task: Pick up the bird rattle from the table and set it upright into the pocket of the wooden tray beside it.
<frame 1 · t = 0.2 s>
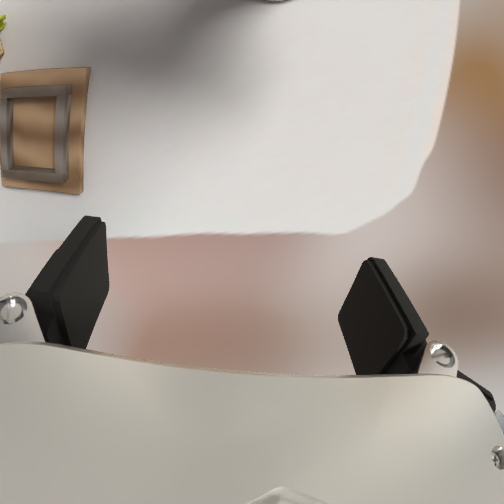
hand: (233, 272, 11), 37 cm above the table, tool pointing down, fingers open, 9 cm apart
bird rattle: (0, 40, 30), on the table
wooden tray: (40, 129, 40), on the table
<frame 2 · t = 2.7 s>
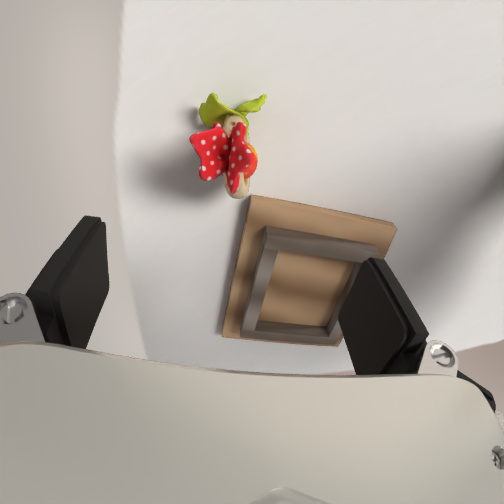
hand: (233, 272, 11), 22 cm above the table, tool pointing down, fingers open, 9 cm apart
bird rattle: (237, 134, 30), on the table
wooden tray: (302, 280, 39), on the table
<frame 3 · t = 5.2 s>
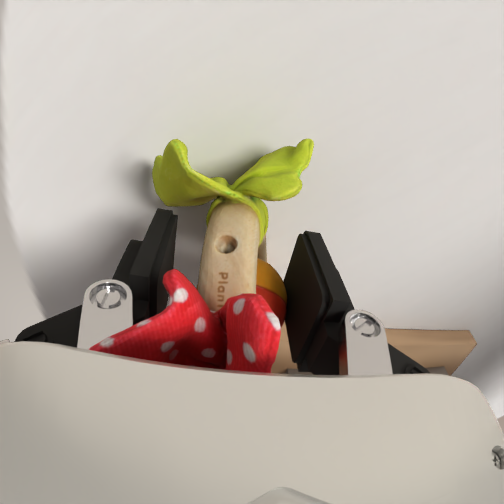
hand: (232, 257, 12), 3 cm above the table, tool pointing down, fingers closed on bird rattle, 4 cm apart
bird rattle: (240, 217, 15), on the table, touching gripper
wooden tray: (332, 407, 24), on the table
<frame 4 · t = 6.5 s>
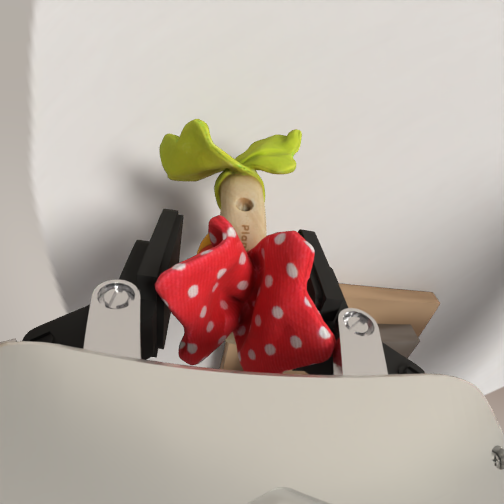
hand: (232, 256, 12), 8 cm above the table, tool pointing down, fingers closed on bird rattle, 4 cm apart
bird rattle: (227, 194, 17), point 2 cm above the table, touching gripper
wooden tray: (311, 366, 29), on the table
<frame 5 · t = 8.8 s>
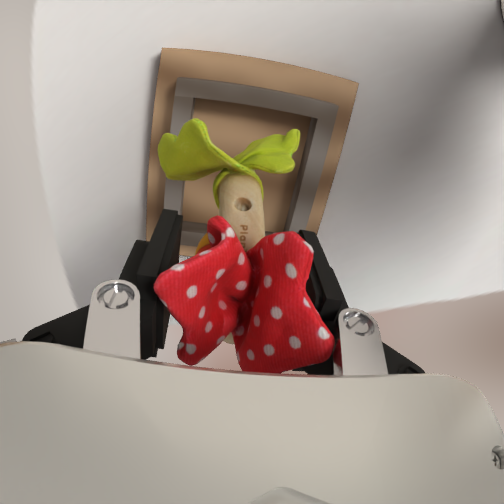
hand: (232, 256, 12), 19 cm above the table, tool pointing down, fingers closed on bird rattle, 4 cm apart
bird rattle: (225, 193, 16), point 13 cm above the table, touching gripper
wooden tray: (242, 163, 29), on the table
when the fingers open (7 cm above the table, at t = 11.2 s): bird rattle stays where it is, resting on wooden tray.
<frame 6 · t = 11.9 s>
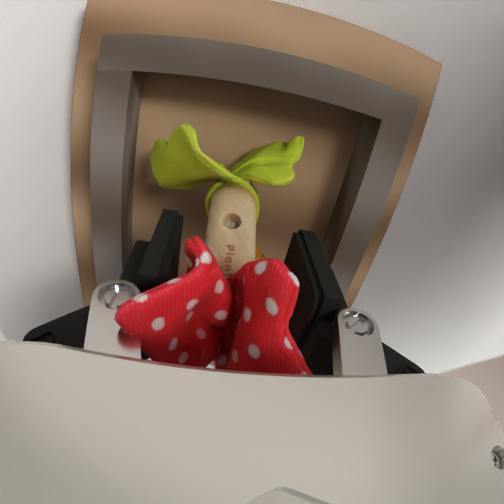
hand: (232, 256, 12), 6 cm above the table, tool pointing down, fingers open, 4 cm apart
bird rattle: (225, 203, 15), point 1 cm above the table, touching wooden tray, gripper
wooden tray: (233, 194, 17), on the table
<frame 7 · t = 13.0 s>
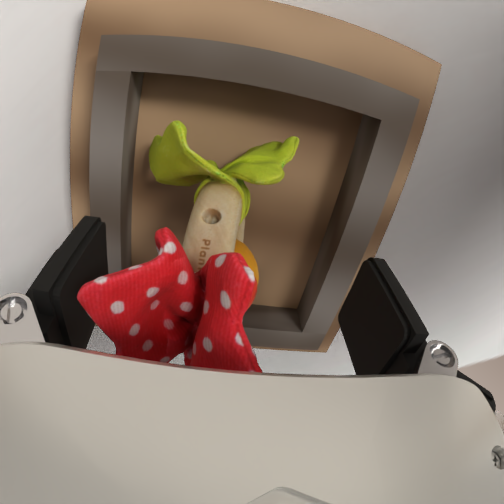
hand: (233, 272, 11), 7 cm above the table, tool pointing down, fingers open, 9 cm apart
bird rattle: (223, 202, 16), point 1 cm above the table, touching wooden tray
wooden tray: (232, 195, 17), on the table
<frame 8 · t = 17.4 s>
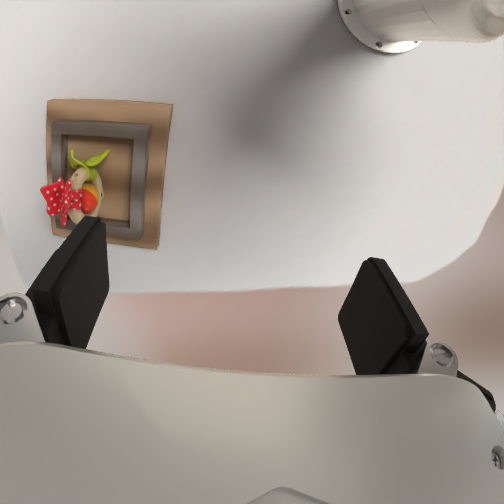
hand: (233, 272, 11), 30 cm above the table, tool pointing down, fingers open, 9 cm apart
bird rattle: (97, 175, 37), point 1 cm above the table, touching wooden tray
wooden tray: (104, 172, 39), on the table
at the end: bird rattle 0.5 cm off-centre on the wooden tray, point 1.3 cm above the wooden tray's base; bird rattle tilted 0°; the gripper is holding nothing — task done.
